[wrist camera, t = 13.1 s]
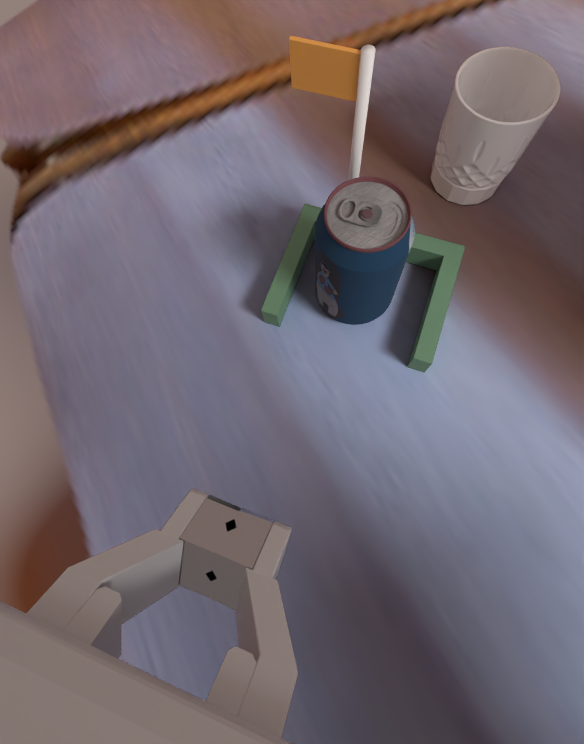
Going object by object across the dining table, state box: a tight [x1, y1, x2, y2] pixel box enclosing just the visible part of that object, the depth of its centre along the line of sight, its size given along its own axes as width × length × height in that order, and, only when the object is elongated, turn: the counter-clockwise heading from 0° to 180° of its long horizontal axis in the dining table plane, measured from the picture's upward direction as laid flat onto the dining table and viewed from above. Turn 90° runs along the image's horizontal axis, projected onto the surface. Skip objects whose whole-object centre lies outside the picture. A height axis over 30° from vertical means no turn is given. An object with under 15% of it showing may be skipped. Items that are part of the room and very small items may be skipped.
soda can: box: [315, 177, 415, 325], centre depth 33 cm, size 7×7×12 cm
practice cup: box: [261, 36, 465, 372], centre depth 31 cm, size 15×12×18 cm
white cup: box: [431, 47, 560, 205], centre depth 37 cm, size 8×8×10 cm
